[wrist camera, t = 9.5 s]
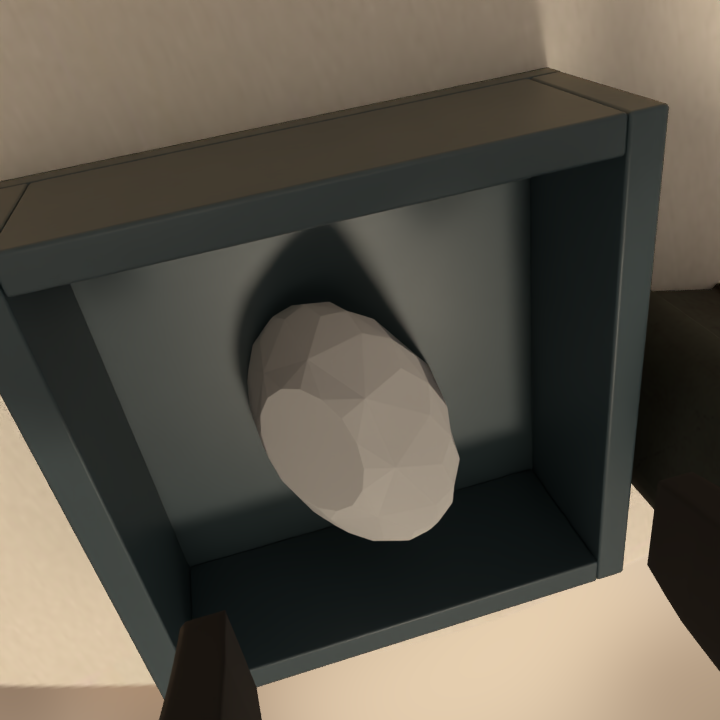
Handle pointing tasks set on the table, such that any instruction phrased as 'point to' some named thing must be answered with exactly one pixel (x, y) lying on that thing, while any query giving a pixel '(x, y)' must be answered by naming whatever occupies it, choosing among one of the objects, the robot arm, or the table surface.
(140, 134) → the table surface
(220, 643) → the robot arm
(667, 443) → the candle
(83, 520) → the bin
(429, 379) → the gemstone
